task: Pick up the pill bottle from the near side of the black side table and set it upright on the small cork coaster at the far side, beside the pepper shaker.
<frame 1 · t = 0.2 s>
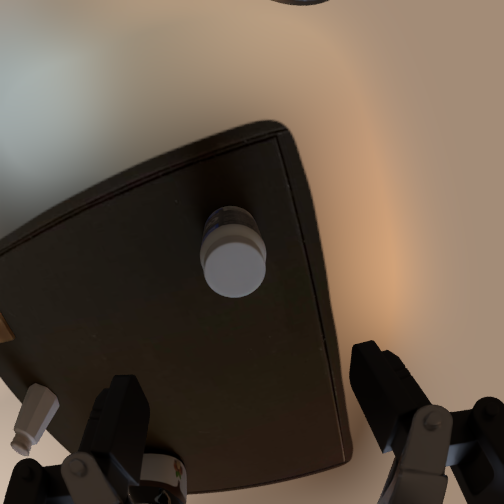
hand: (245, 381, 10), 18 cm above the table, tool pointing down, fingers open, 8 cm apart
spread jar: (148, 455, 40), on the table
pepper shaker: (44, 394, 33), on the table
pill bottle: (230, 230, 28), on the table
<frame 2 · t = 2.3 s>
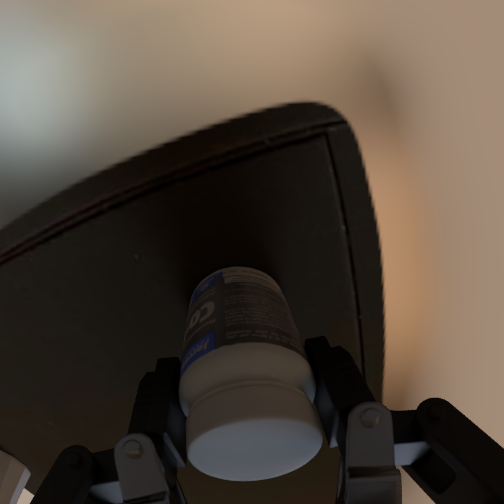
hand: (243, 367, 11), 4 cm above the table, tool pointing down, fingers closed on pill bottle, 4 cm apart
pepper shaker: (12, 461, 21), on the table
pill bottle: (236, 305, 15), on the table, touching gripper
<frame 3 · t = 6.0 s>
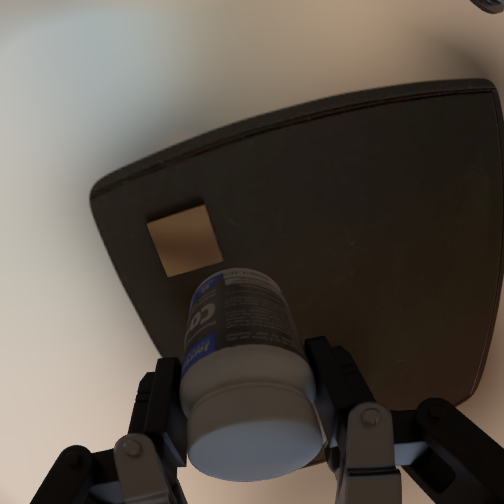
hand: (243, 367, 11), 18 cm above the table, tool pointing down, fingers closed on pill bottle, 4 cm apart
spread jar: (326, 410, 39), on the table
coaster: (185, 240, 28), on the table
pill bottle: (237, 307, 15), point 14 cm above the table, touching gripper
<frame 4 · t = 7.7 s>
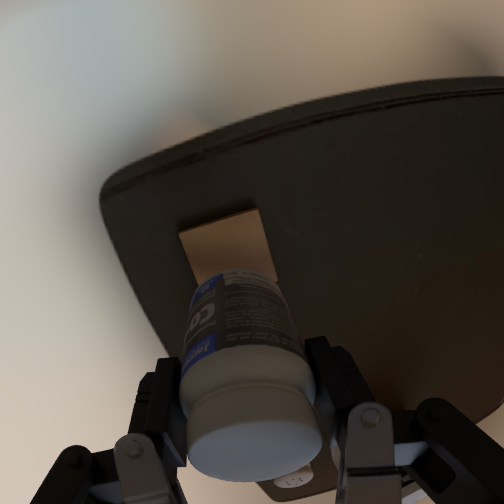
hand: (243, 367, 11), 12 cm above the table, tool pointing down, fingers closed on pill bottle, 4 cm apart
spread jar: (368, 434, 33), on the table
pepper shaker: (271, 379, 27), on the table
coaster: (229, 255, 22), on the table
pill bottle: (236, 307, 15), point 7 cm above the table, touching gripper
when the fingers open (5 cm above the table, at t = 9.6 s): pill bottle stays where it is, resting on coaster.
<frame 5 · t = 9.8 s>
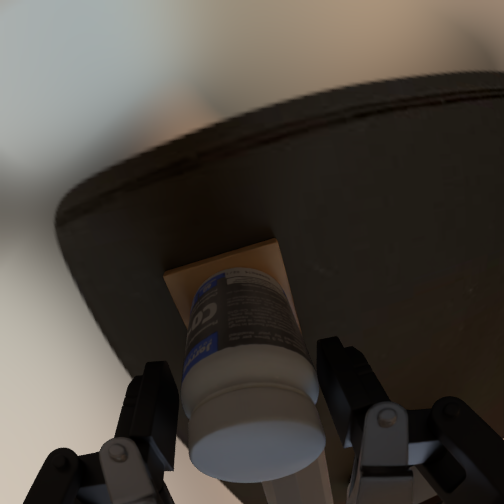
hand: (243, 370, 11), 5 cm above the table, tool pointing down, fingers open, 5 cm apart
spread jar: (386, 472, 27), on the table
pepper shaker: (285, 436, 21), on the table
coaster: (236, 303, 16), on the table
pill bottle: (238, 306, 15), resting on coaster
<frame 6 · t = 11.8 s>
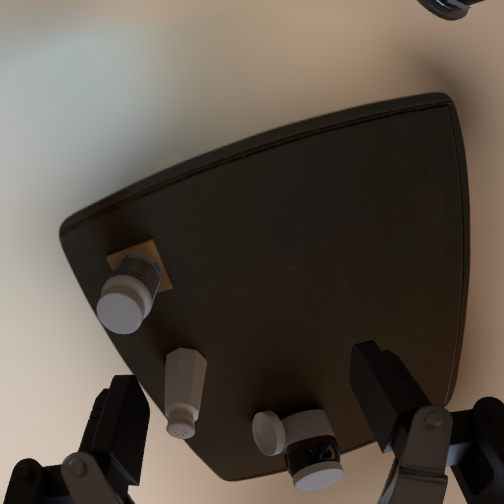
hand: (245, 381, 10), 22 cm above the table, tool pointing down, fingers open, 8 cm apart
spread jar: (288, 420, 42), on the table
pepper shaker: (186, 362, 36), on the table
coaster: (140, 270, 31), on the table
pill bottle: (140, 271, 31), resting on coaster
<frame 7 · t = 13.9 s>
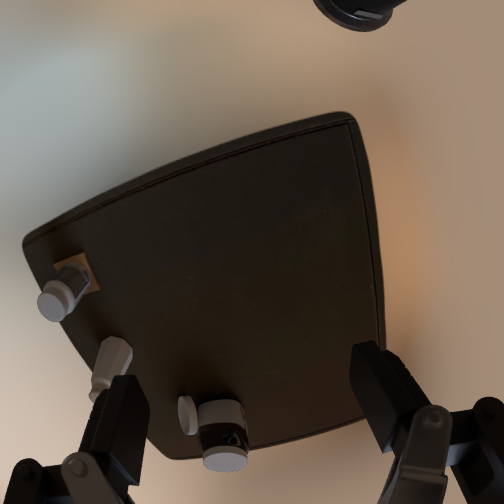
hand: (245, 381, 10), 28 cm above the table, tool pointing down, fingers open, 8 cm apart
spread jar: (211, 406, 49), on the table
pepper shaker: (117, 348, 43), on the table
coaster: (77, 275, 38), on the table
pill bottle: (77, 276, 37), resting on coaster
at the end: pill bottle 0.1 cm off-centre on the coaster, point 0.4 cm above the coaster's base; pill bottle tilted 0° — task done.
